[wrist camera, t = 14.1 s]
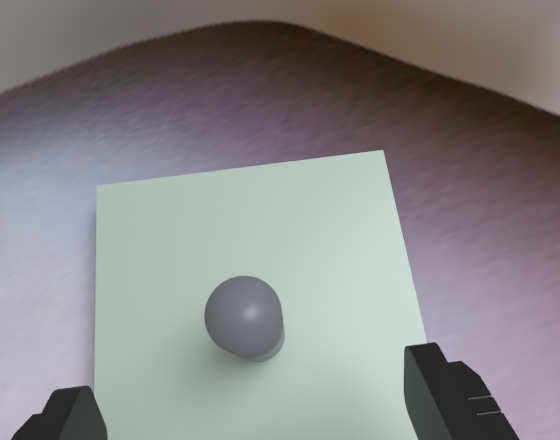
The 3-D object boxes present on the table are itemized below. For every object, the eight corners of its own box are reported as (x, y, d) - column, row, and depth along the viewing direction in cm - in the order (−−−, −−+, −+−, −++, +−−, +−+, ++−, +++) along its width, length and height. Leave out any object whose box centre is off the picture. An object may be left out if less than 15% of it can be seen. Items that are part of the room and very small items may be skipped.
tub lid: (374, 170, 26) (419, 60, 17) (448, 510, 20) (576, 618, 11) (114, 203, 25) (18, 108, 16) (115, 557, 20) (-32, 708, 11)
